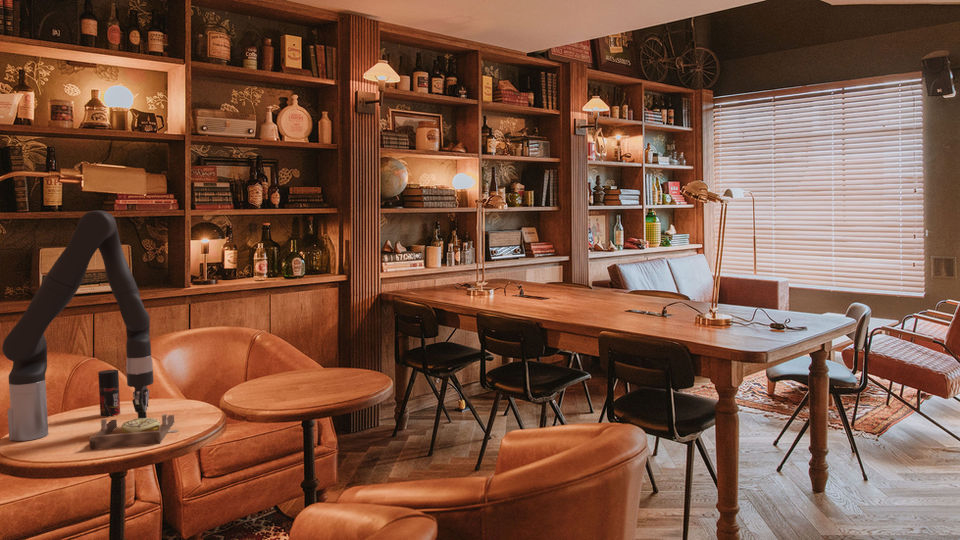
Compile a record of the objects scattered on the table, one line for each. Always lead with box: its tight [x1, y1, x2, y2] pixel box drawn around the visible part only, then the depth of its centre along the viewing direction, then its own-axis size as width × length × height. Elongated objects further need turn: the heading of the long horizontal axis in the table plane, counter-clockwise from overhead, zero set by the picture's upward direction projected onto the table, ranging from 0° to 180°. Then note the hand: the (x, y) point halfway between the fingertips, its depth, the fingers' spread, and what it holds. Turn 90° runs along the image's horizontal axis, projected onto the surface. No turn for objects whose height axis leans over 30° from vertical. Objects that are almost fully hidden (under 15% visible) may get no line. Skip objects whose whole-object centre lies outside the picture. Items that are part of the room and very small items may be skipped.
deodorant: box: [97, 369, 121, 417], centre depth 225 cm, size 6×6×15 cm
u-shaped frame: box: [89, 413, 178, 450], centre depth 202 cm, size 25×22×6 cm
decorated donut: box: [120, 417, 161, 433], centre depth 205 cm, size 10×11×4 cm
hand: (142, 423), depth 211 cm, fingers closed
